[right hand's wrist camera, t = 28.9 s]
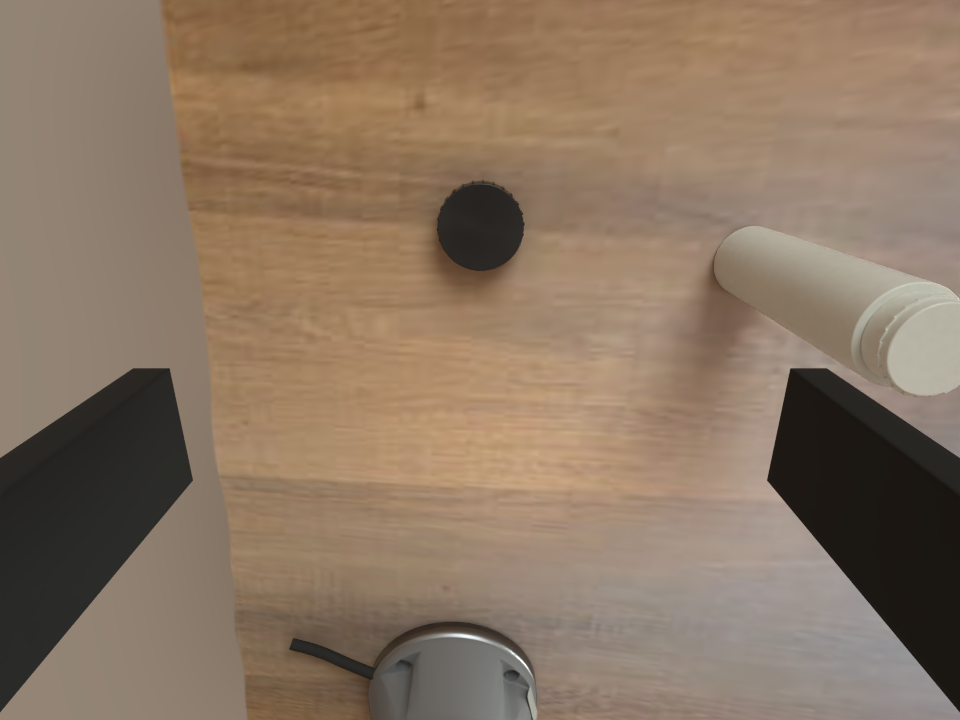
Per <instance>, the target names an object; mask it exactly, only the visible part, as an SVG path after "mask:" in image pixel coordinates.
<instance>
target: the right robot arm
mask: <svg viewBox="0 0 960 720" xmlns="http://www.w3.org/2000/svg"><path fill="white" fill-rule="evenodd" d="M192 481H193V479H192V474H191V469H190V464H189V459H188V455H187V450H186V445H185V440H184V436H183V431H182V426H181V421H180V416H179V412H178V407H177V402H176V397H175V393H174V388H173V383H172V378H171V373H170V369H169V368H146V369H145V368H140V369H139V368H136V369H135V368H134V369H132V370H130V371H129V372H127V373H126V374H124V375H123V376H121V377H120V378H118V379H117V380H115V381H114V382H112V383H111V384H110V385H108V386H107V387H105V388H104V389H102V390H101V391H99V392H98V393H96V394H95V395H93V396H92V397H90V398H89V399H87V400H86V401H84V402H83V403H81V404H80V405H78V406H77V407H75V408H74V409H72V410H71V411H70V412H68V413H66V414H65V415H64V416H62V417H61V418H59V419H58V420H56V421H55V422H53V423H52V424H50V425H49V426H47V427H46V428H44V429H43V430H41V431H40V432H38V433H37V434H35V435H34V436H32V437H31V438H30V439H28V440H26V441H25V442H23V443H22V444H20V445H19V446H18V447H16V448H15V449H13V450H12V451H10V452H9V453H7V454H6V455H4V456H3V457H1V458H0V712H1V711H2V709H3V708H4V707H5V706H6V705H7V703H8V702H9V701H10V700H11V699H12V697H13V696H14V695H15V694H16V692H17V691H18V690H19V689H20V688H21V686H22V685H23V684H24V683H25V682H26V680H27V679H28V678H29V677H30V676H31V674H32V673H33V672H34V671H35V670H36V668H37V667H38V666H39V665H40V664H41V662H42V661H43V660H44V659H45V658H46V656H47V655H48V654H49V653H50V652H51V650H52V649H53V648H54V647H55V646H56V644H57V643H58V642H59V641H60V640H61V638H62V637H63V636H64V635H65V634H66V632H67V631H68V630H69V629H70V628H71V626H72V625H73V624H74V623H75V622H76V620H77V619H78V618H79V617H80V615H81V614H82V613H83V612H84V611H85V609H86V608H87V607H88V606H89V605H90V603H91V602H92V601H93V600H94V599H95V597H96V596H97V595H98V594H99V593H100V591H101V590H102V589H103V588H104V587H105V585H106V584H107V583H108V582H109V581H110V579H111V578H112V577H113V576H114V575H115V573H116V572H117V571H118V570H119V568H120V567H121V566H122V565H123V564H124V563H125V561H126V560H127V559H128V558H129V557H130V555H131V554H132V553H133V552H134V551H135V549H136V548H137V547H138V546H139V544H140V543H141V542H142V541H143V540H144V538H145V537H146V536H147V535H148V534H149V532H150V531H151V530H152V529H153V528H154V526H155V525H156V524H157V523H158V522H159V520H160V519H161V518H162V517H163V516H164V514H165V513H166V512H167V511H168V510H169V508H170V507H171V506H172V505H173V504H174V502H175V501H176V500H177V499H178V498H179V496H180V495H181V494H182V493H183V492H184V490H185V489H186V488H187V487H188V486H189V484H190V483H191V482H192ZM767 481H768V482H769V483H770V484H771V486H772V487H773V488H774V489H775V490H776V492H777V493H778V494H779V495H780V496H781V498H782V499H783V500H784V501H785V502H786V504H787V505H788V506H789V507H790V508H791V510H792V511H793V512H794V513H795V514H796V516H797V517H798V518H799V519H800V520H801V522H802V523H803V524H804V525H805V526H806V528H807V529H808V530H809V531H810V532H811V534H812V535H813V536H814V537H815V538H816V540H817V541H818V542H819V543H820V545H821V546H822V547H823V548H824V549H825V551H826V552H827V553H828V554H829V555H830V557H831V558H832V559H833V560H834V561H835V563H836V564H837V565H838V566H839V567H840V569H841V570H842V571H843V572H844V573H845V575H846V576H847V577H848V578H849V579H850V581H851V582H852V583H853V584H854V585H855V587H856V588H857V589H858V590H859V591H860V593H861V594H862V595H863V596H864V597H865V599H866V600H867V601H868V602H869V603H870V605H871V606H872V607H873V608H874V609H875V611H876V612H877V613H878V614H879V616H880V617H881V618H882V619H883V620H884V622H885V623H886V624H887V625H888V626H889V628H890V629H891V630H892V631H893V632H894V634H895V635H896V636H897V637H898V638H899V640H900V641H901V642H902V643H903V644H904V646H905V647H906V648H907V649H908V650H909V652H910V653H911V654H912V655H913V656H914V658H915V659H916V660H917V661H918V662H919V664H920V665H921V666H922V667H923V668H924V670H925V671H926V672H927V673H928V674H929V676H930V677H931V678H932V679H933V680H934V682H935V683H936V684H937V685H938V687H939V688H940V689H941V690H942V691H943V693H944V694H945V695H946V696H947V697H948V699H949V700H950V701H951V702H952V703H953V705H954V706H955V707H956V708H957V709H958V711H959V712H960V458H959V457H957V456H956V455H954V454H953V453H951V452H950V451H948V450H947V449H945V448H944V447H942V446H941V445H940V444H938V443H937V442H935V441H934V440H932V439H931V438H929V437H928V436H926V435H925V434H923V433H922V432H920V431H919V430H917V429H916V428H914V427H913V426H911V425H910V424H908V423H907V422H905V421H904V420H902V419H901V418H899V417H898V416H896V415H895V414H894V413H892V412H891V411H889V410H888V409H886V408H885V407H883V406H882V405H880V404H879V403H877V402H876V401H874V400H873V399H871V398H870V397H868V396H867V395H865V394H864V393H862V392H861V391H859V390H858V389H856V388H855V387H853V386H852V385H851V384H849V383H848V382H846V381H845V380H843V379H842V378H840V377H839V376H837V375H836V374H834V373H833V372H831V371H830V370H828V369H827V368H790V373H789V378H788V383H787V388H786V392H785V397H784V402H783V407H782V412H781V416H780V421H779V426H778V431H777V436H776V440H775V445H774V450H773V455H772V459H771V464H770V469H769V474H768V479H767ZM290 650H294V651H298V652H302V653H306V654H309V655H312V656H315V657H318V658H321V659H323V660H326V661H328V662H330V663H333V664H335V665H337V666H339V667H341V668H344V669H346V670H348V671H351V672H353V673H356V674H358V675H361V676H363V677H366V678H368V679H370V680H371V681H370V686H369V693H368V699H369V710H370V716H371V720H536V717H537V710H536V704H537V692H536V683H535V674H534V671H533V667H532V665H531V663H530V661H529V659H528V657H527V656H526V655H525V653H524V652H523V651H522V650H521V648H520V647H519V646H517V645H516V644H515V643H514V642H513V641H511V640H510V639H509V638H507V637H506V636H504V635H502V634H500V633H498V632H496V631H494V630H492V629H489V628H486V627H483V626H479V625H475V624H470V623H462V622H443V623H435V624H429V625H425V626H421V627H418V628H415V629H413V630H410V631H408V632H406V633H404V634H402V635H401V636H399V637H398V638H396V639H395V640H393V641H392V642H391V643H390V644H389V645H388V646H387V647H386V648H385V649H384V650H383V651H382V652H381V654H380V655H379V657H378V659H377V660H376V663H375V665H374V668H372V667H370V666H367V665H365V664H362V663H360V662H357V661H355V660H352V659H350V658H348V657H345V656H343V655H341V654H339V653H337V652H334V651H332V650H330V649H327V648H325V647H322V646H319V645H316V644H313V643H310V642H306V641H302V640H298V639H294V638H293V640H292V643H291V646H290Z"/></svg>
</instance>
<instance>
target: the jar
mask: <svg viewBox="0 0 960 720" xmlns="http://www.w3.org/2000/svg"><path fill="white" fill-rule="evenodd" d="M714 273H715V277H716V279H717V281H718V283H719V284H720V285H721V287H722V288H724V289H725V290H726V291H728V292H729V293H731V294H733V295H734V296H736V297H737V298H739V299H740V300H742V301H744V302H745V303H747V304H748V305H750V306H752V307H753V308H755V309H756V310H758V311H759V312H761V313H763V314H764V315H766V316H767V317H769V318H771V319H772V320H774V321H775V322H777V323H778V324H780V325H782V326H783V327H785V328H786V329H788V330H789V331H791V332H793V333H794V334H796V335H797V336H799V337H801V338H802V339H804V340H805V341H807V342H808V343H810V344H812V345H813V346H815V347H816V348H818V349H820V350H821V351H823V352H824V353H826V354H827V355H829V356H831V357H832V358H834V359H835V360H837V361H838V362H840V363H842V364H843V365H845V366H846V367H848V368H850V369H851V370H853V371H854V372H856V373H857V374H859V375H861V376H862V377H864V378H865V379H867V380H869V381H870V382H873V383H875V384H878V385H882V386H890V387H892V388H893V389H895V390H897V391H899V392H901V393H902V394H906V395H911V396H915V397H925V396H929V397H932V396H936V395H939V394H942V393H944V394H946V393H948V392H949V391H951V390H953V389H955V388H957V387H958V386H959V385H960V298H959V297H957V296H956V295H955V294H954V293H953V292H952V291H951V290H949V289H948V288H946V287H944V286H942V285H940V284H937V283H934V282H931V281H928V280H925V279H922V278H919V277H916V276H913V275H909V274H906V273H903V272H900V271H897V270H894V269H891V268H888V267H885V266H882V265H879V264H876V263H873V262H869V261H866V260H863V259H860V258H857V257H854V256H851V255H848V254H845V253H842V252H839V251H836V250H833V249H830V248H826V247H823V246H820V245H817V244H814V243H811V242H808V241H805V240H802V239H799V238H796V237H793V236H790V235H787V234H783V233H780V232H777V231H774V230H771V229H768V228H765V227H761V226H749V227H744V228H741V229H739V230H737V231H735V232H733V233H732V234H731V235H729V236H728V237H727V238H726V239H725V240H724V241H723V242H722V244H721V245H720V247H719V248H718V250H717V253H716V255H715V259H714Z"/></svg>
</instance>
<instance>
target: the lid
mask: <svg viewBox="0 0 960 720" xmlns="http://www.w3.org/2000/svg"><path fill="white" fill-rule="evenodd" d="M512 196H513V195H512V194H511V193H509V192H508V191H506V190H505V189H504V187H503V186H502V187H500V186H499V185H496V184H495V183H494V182H493V183H490V182H484V180H482V181H476V182H474V181H472V182H471V183H468V184H465V185H464V184H462V186H461V187H459V188H458V189H456V190H455V189H454V190H453V193H452V194H451V195H450V196H449V197H447V198H446V202H445V204H444V205H443V206H442V207H441V209H440V210H441V212H440V215H439V217H438V219H437V220H438V228H437V231H438V235H439V241H440V242H441V245H442V247H443V249H444V251H445V252H446V253H447V255H448V256H449V257H450V258H451V259H452V260H453V261H454V262H456V263H457V264H459V265H460V266H462V267H465V268H467V269H471V270H477V271H485V270H491V269H494V268H497V267H499V266H501V265H503V264H504V263H506V262H507V261H508V260H509V259H510V258H511V257H512V256H513V255H514V254H515V253H516V251H517V250H518V248H519V246H520V243H521V241H522V237H523V235H524V234H523V231H524V222H523V217H522V215H523V213H522V211H520V208H519V206H518V205H519V204H518V202H517V201H515V199H514V198H513V197H512Z"/></svg>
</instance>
